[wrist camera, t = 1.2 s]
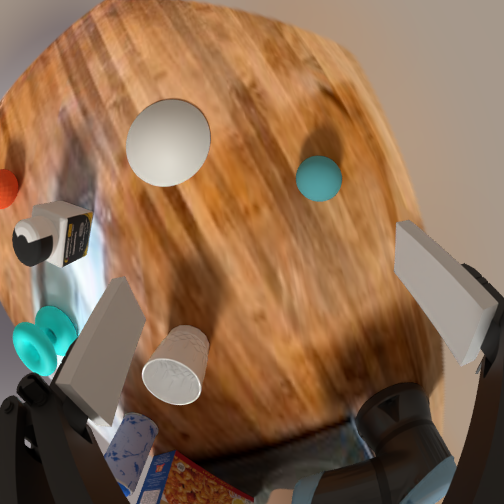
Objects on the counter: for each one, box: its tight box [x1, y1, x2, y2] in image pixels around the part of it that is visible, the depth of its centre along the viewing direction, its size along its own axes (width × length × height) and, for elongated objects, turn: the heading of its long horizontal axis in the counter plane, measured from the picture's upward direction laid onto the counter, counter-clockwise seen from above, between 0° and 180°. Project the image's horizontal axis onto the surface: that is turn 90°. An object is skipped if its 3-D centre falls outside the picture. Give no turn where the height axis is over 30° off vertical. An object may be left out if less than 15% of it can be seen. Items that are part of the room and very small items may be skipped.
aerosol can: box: [104, 412, 158, 497], centre depth 39 cm, size 8×8×20 cm
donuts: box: [13, 306, 77, 376], centre depth 39 cm, size 10×10×10 cm
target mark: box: [126, 100, 210, 186], centre depth 35 cm, size 12×12×1 cm
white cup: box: [142, 325, 209, 405], centre depth 37 cm, size 8×8×10 cm
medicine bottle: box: [12, 201, 93, 268], centre depth 33 cm, size 7×7×12 cm
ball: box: [296, 156, 342, 201], centre depth 33 cm, size 6×6×6 cm
